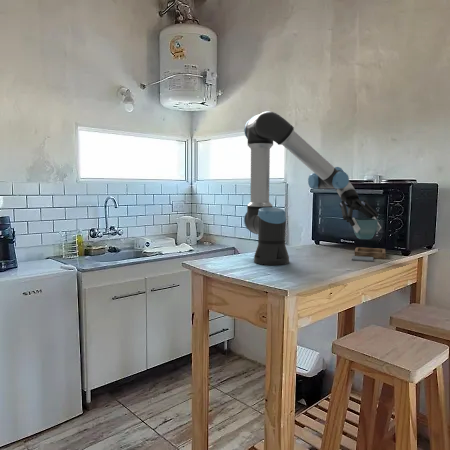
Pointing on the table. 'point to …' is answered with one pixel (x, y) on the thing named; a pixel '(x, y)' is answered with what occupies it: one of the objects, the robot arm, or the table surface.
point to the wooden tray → (371, 252)
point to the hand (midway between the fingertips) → (369, 230)
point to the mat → (362, 258)
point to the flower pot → (366, 228)
